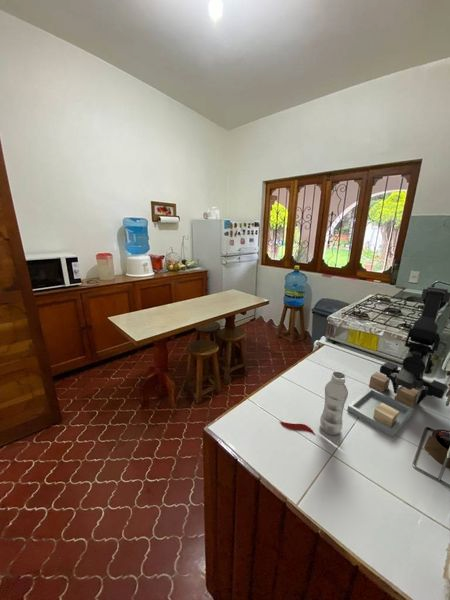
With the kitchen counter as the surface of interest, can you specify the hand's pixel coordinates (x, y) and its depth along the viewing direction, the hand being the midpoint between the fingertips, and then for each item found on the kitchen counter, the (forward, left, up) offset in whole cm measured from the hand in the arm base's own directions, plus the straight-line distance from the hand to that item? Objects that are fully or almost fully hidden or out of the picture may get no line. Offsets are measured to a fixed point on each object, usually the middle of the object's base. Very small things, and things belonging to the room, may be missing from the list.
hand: (406, 398), depth 90 cm
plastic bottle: (+34, -9, -1) cm, 35 cm away
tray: (+14, -3, -1) cm, 14 cm away
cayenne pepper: (+41, -16, -2) cm, 44 cm away
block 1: (-1, -9, -1) cm, 10 cm away
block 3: (0, 0, -1) cm, 1 cm away
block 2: (+18, 0, -1) cm, 18 cm away
